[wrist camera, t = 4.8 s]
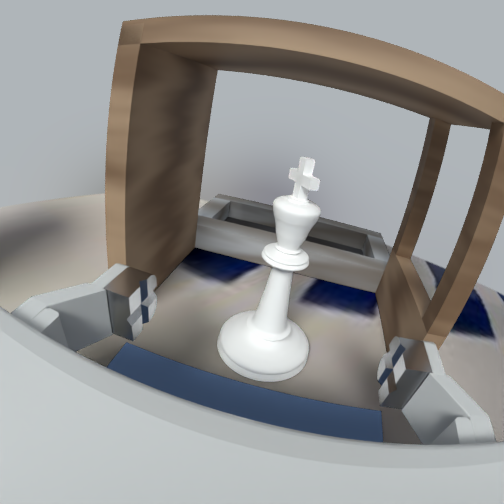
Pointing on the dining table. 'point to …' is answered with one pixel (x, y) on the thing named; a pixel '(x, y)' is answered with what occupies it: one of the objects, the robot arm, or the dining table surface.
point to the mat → (247, 397)
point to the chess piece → (276, 294)
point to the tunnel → (261, 215)
